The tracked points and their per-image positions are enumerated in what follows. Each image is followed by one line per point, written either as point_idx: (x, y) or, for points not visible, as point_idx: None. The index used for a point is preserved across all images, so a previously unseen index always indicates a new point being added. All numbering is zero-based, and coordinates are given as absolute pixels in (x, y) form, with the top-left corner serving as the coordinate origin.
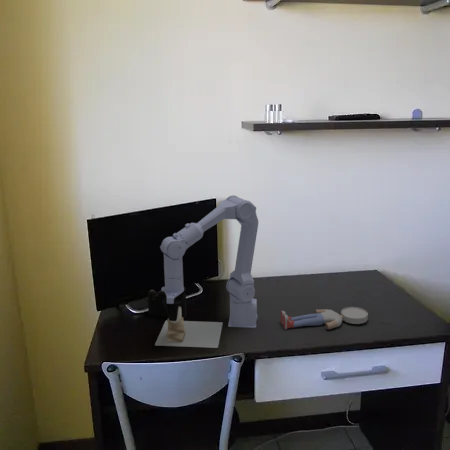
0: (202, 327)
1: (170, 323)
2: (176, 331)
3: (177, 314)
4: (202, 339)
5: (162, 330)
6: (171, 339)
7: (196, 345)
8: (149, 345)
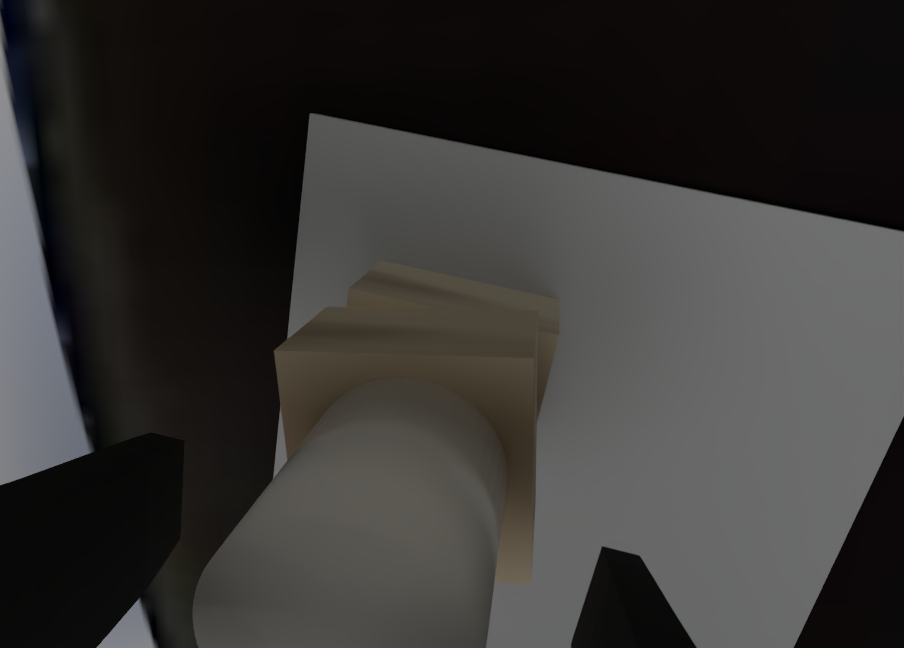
0: None
1: (336, 393)
2: None
3: (89, 644)
4: None
5: (673, 204)
6: None
7: None
8: (342, 46)
